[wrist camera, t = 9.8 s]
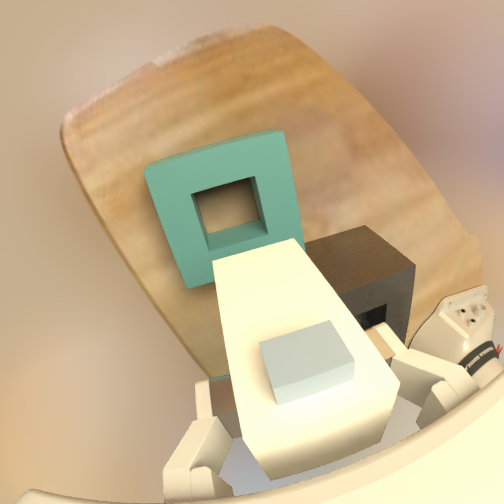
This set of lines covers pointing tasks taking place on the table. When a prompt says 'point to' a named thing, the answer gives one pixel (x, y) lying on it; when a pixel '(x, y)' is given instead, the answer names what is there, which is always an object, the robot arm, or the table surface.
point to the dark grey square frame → (367, 277)
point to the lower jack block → (218, 173)
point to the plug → (298, 362)
